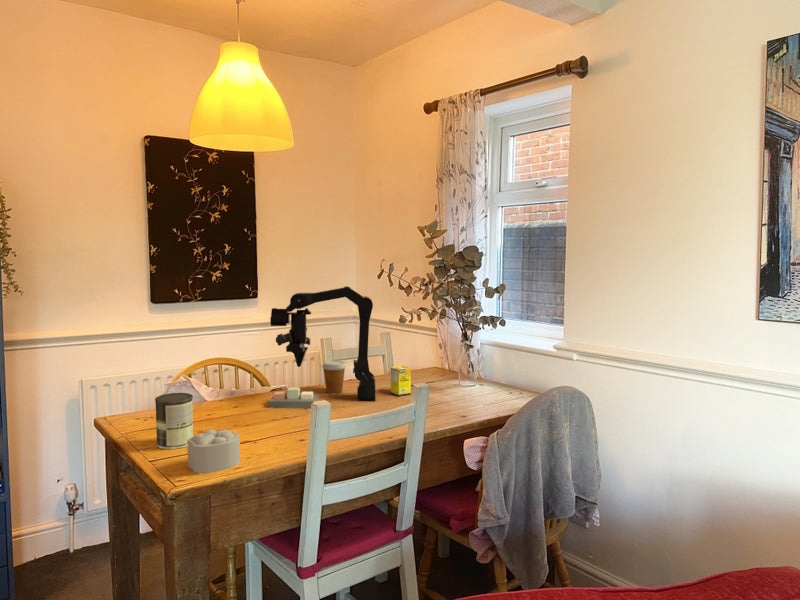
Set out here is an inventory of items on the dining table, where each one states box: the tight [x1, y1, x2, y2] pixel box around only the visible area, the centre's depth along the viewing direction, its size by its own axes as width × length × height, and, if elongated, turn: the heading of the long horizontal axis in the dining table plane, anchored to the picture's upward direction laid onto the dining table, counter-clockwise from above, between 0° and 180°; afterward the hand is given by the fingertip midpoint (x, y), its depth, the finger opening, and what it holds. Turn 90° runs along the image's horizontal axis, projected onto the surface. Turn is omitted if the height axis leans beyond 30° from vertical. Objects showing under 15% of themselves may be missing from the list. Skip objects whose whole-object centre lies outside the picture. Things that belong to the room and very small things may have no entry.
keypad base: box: [268, 394, 319, 409], centre depth 211 cm, size 16×10×2 cm, turn 90°
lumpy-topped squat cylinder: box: [186, 428, 241, 475], centre depth 151 cm, size 10×13×9 cm
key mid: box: [286, 386, 301, 400], centre depth 211 cm, size 4×4×4 cm
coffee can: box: [154, 392, 194, 450], centre depth 167 cm, size 10×10×14 cm
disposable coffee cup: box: [321, 360, 347, 394], centre depth 230 cm, size 10×10×12 cm
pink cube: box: [273, 391, 287, 399], centre depth 211 cm, size 4×4×4 cm
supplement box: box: [390, 365, 412, 397], centre depth 227 cm, size 6×6×11 cm
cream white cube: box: [300, 391, 314, 400], centre depth 211 cm, size 4×4×4 cm
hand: (298, 366), depth 216 cm, fingers closed
